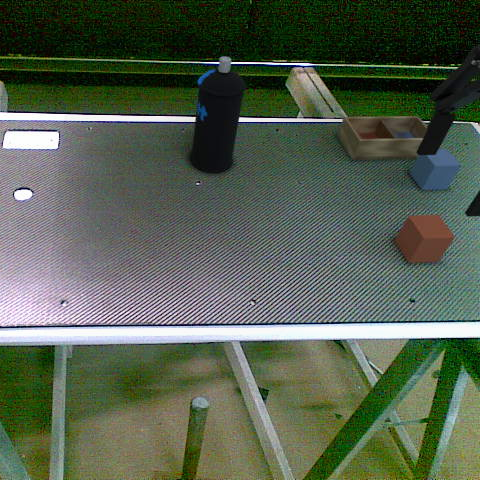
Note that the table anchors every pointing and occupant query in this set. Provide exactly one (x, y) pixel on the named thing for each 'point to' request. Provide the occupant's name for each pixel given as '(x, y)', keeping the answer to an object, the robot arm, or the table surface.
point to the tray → (382, 137)
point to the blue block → (435, 170)
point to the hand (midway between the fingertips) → (448, 182)
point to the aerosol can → (217, 118)
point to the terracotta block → (424, 238)
